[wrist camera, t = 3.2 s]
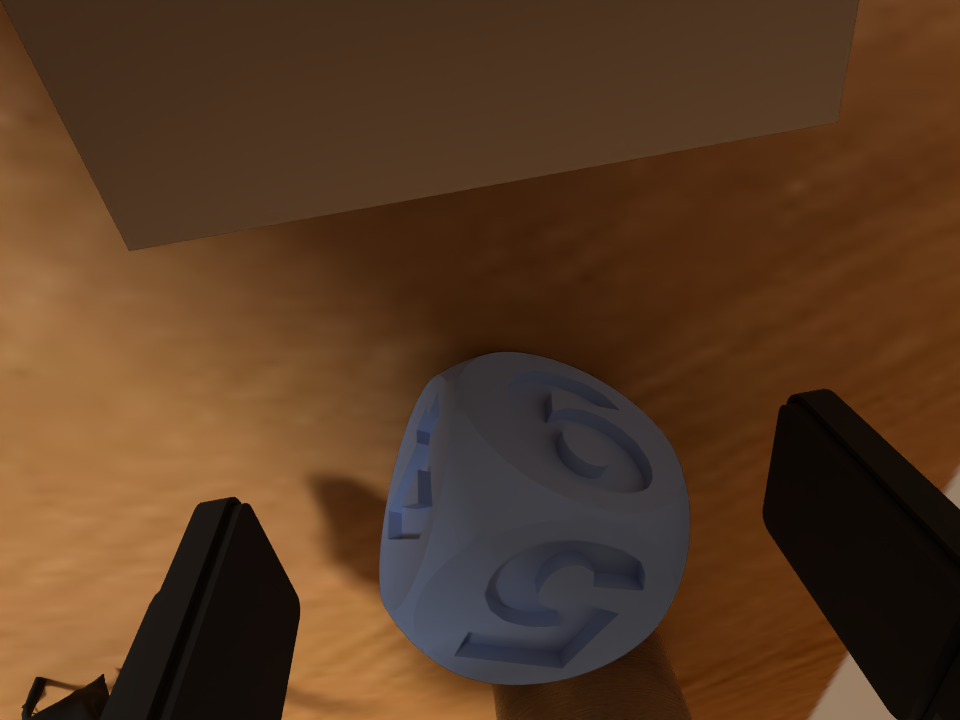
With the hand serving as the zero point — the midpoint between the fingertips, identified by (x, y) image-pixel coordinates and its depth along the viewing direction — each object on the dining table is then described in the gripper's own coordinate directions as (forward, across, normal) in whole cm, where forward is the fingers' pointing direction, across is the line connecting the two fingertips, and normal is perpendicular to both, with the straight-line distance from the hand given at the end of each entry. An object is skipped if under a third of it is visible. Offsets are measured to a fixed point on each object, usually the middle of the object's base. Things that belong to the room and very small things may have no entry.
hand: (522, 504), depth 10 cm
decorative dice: (+2, 0, 0) cm, 2 cm away
